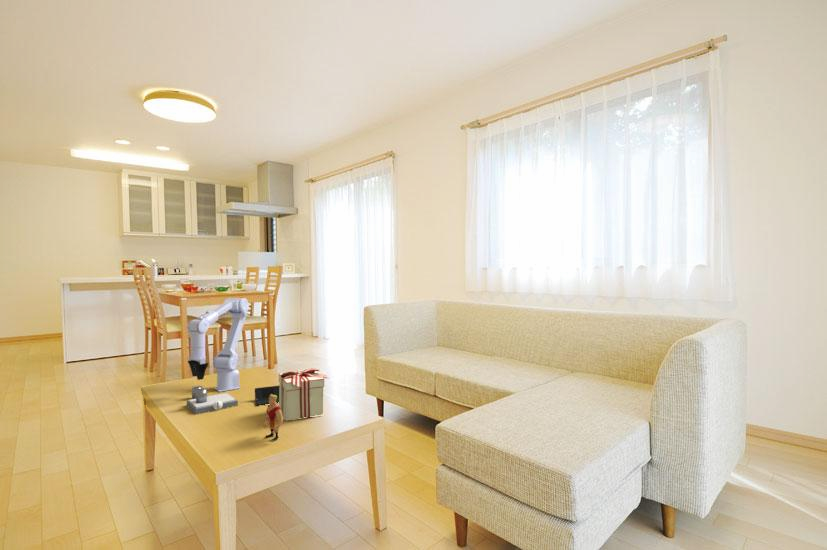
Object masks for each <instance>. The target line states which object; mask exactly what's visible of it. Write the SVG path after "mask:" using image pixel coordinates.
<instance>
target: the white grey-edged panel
mask: <svg viewBox="0 0 827 550" xmlns="http://www.w3.org/2000/svg"><path fill="white" fill-rule="evenodd" d="M236 405H238V406H239V401H238V400H237V399H236V398H235V397H234V396H232V395H231V394H229V393H227V392H225V393H224V392H223V393H219V394H214V395H209V396H208V395H207V402H204V403H196V399H192V398H191V399H188V400H186V407H188V409H189V410H191V411H192V413H194V414H195V415H199V413H200V414H203V413H204V412H205V413H209V412H208V411H210V412H213V410H215V411H219V410H223V409H222V408H224V409H228V408H227V407H229V408H233V407H232V406H234V407H237V406H236ZM205 413H204V414H205Z"/></svg>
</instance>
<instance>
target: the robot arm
mask: <svg viewBox="0 0 827 550" xmlns="http://www.w3.org/2000/svg"><path fill="white" fill-rule="evenodd" d="M249 308H250V303H249V301H248V299H247V298H245V297H243V298H240V297H237V298H234V297H233V298H232V297H228V298H226V299H224V301H223V303H221V304H220V305H219V306H218V307H217V308H215V309H214V310H206V311H205V313H204V314H202V315H199V316H198V318H196V319H192V320H190V321H189V322H188V325H187V326H186V329H187V331H188V333H189V334H188V335H189V337H190V357H187V363H188V366H189V368H190V371H191V375H192V377H196V379H197V381H201V380H204V378H205V373H206V370H207V368H208V366H209V363H208V362H206V358H207V357H206V333H207V332H208V330H209V328H210V326H212V325H214V323H216V322H217V321H218V320H219V317H220V316H223V315H224V314H225V313H227V312H228V314H229V315H230V316H231V317H232V321H231V325H230V327H229V330H228V333H227V337H226V340H225V343H224V345H223V349H221V350H219V351H218V352H217V354H216V356H215V357H214V359H213V362H212V365H213V367H214V369H215V371H216V386H215V387H214V388H213V389H215V390H216V391H217V392H219V393H221V392H227V391H232V390H238V389H240V372H239V369H238V368H237V367H238V362H239V360H238V359H239V355H238V354H237V352H236V350H237V347H238V343H239V339H240V337H241V333H242V332H243V331H242V330H243V328H244V324H245V321H246V318H247V314H248V311H249Z"/></svg>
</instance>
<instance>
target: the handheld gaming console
mask: <svg viewBox="0 0 827 550" xmlns="http://www.w3.org/2000/svg"><path fill="white" fill-rule="evenodd" d="M279 387H280V385H272V386H264V387H263V386H262V387H256V388H255V387H254V403H255V406H256V407H260V406H259V405H264V406H266V405H265V404H269V396H270V394H272V395H276V396H277V398H276V403H278V402H279Z"/></svg>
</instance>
